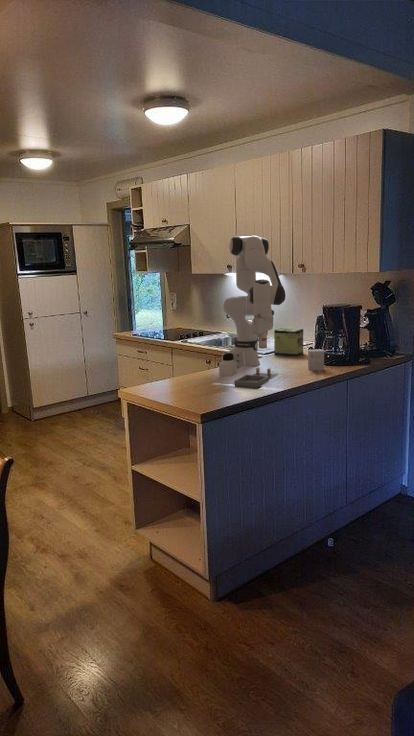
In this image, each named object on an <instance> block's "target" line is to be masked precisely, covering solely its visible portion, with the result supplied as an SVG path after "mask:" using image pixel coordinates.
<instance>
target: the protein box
mask: <svg viewBox="0 0 414 736" xmlns="http://www.w3.org/2000/svg"><path fill="white" fill-rule="evenodd" d="M273 331H274V332H273V333H274V338H273V340H274V342H273V343H274V349H273V351H274V352H273V353H274V356H287V357H298V356H301V355H303V354H304V329H303V328H283V327H281V328H278V329H275V330H273Z"/></svg>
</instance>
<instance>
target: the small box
mask: <svg viewBox="0 0 414 736" xmlns="http://www.w3.org/2000/svg"><path fill="white" fill-rule="evenodd" d="M307 368H308V371H325V350H324V349H320V348H318V349H317V348H316V349H308V350H307Z"/></svg>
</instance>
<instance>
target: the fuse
mask: <svg viewBox="0 0 414 736" xmlns="http://www.w3.org/2000/svg"><path fill="white" fill-rule="evenodd" d="M262 338H263V341H262V342H259V341H258V349H262V350H263V349H267V348H268V334H267V330H265V332H263V333H262Z"/></svg>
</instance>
